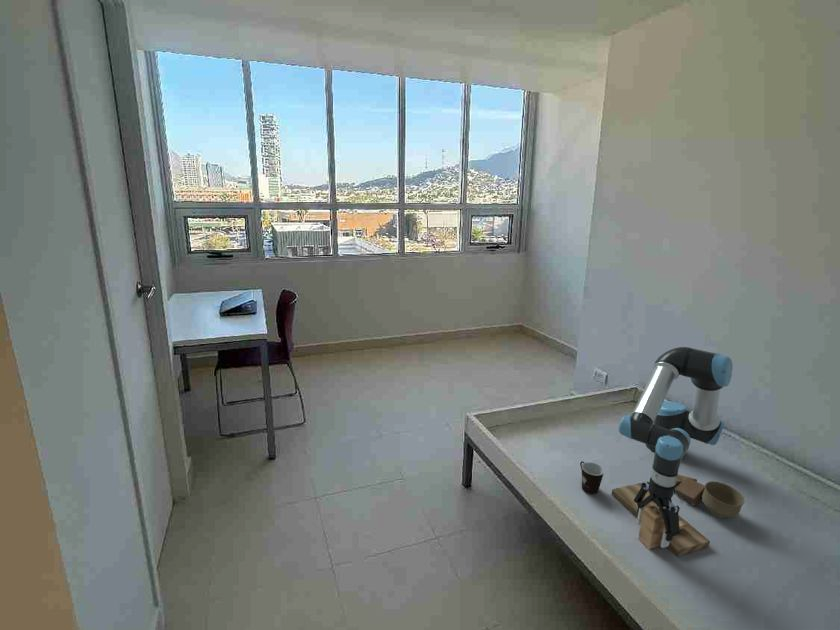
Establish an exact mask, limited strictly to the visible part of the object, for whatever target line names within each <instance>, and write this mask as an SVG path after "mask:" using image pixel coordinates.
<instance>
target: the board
mask: <svg viewBox="0 0 840 630" xmlns="http://www.w3.org/2000/svg"><path fill="white" fill-rule="evenodd" d="M641 484H642V482H638V483H633V484H629V485H625V486H620V487H616V488H612V489H611V496H612V497H613V498H615V499H616V500H617V501H618V502H619V504H621V505H622V506H623V507H624V508H625V509H626V510H627V511H628V512H629V513H631V514H632V515H633V516H634V517H635V518H636V519H637V517H638V514H637V510H638V506H637V503H635V502H634V499H635V497H636V495H637V494H638V492H639V490H640V489H641ZM649 495H650V493H649V490H648V492H647V493H646V495H645V496H644V498H643V500H644V499H645V498H646V497H648V496H649ZM643 500H642V501H643ZM654 505H656V504H655V503H654V502H650V503H649V504H647V506H644V507H646V508H647V507H651V506H654ZM663 508H666V507H663ZM682 517H683V516H682ZM682 517H681V516H680V515H679V521H682V520H683V521H684V522H685V523H686V524H687V527H686V528H684V529H680V535H676V536H673V537H672V540H671V541H670V542H669V546H667V547H666V548H668V549H669V551H671V552H672V553H673V554H674V555H675V556H676V557H679V556H683V555H686V554H689V553H693V552H696V551H699V550H700V551H701V550H703V549H706V548H709V546H710V543H711V540H709V538H707V537H706V536H705V535H703V534H702V533H701V532H700V531H699V530H697V529H696V528H695V527H694V526H693V525H691V524H690V523H689V522H688V521H687V520H685V519H684V518H682Z"/></svg>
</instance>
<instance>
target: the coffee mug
mask: <svg viewBox="0 0 840 630" xmlns="http://www.w3.org/2000/svg"><path fill="white" fill-rule="evenodd" d="M579 466H580V469H581V489H582V491H583V492H584V493H586V494H588V495H596V494H598V493H599V490H600V486H601V484H602V480H603V477H604V475H605V469H604V468H603V467H602V466H601V465H600V464H598V463H596V462H591V461H590V462H588V461H587V462H584V460H583V461H580V465H579Z"/></svg>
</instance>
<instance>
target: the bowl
mask: <svg viewBox="0 0 840 630" xmlns="http://www.w3.org/2000/svg"><path fill="white" fill-rule="evenodd" d="M704 486H705V489H704V492H703V495H702V501H703V503H704V506H705V507H706V508H707V509H708V510H709V512H710V513H712V514H713V515H714V516H717V517H718V518H719V517H720V518H732V517H733V518H734V517H736V516H738V515H739V514H740V512H741V508H742V507H743V505H744V504H745V497H744V496H743V495H742V493H740V491H739V490H737V489H736V488H734V487H732V486H730V485H728V484H726V483H724V482H720V481H714V480H713V481H711V480H710V481H707V482H706V483H705V484H704Z"/></svg>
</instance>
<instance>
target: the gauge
mask: <svg viewBox="0 0 840 630" xmlns="http://www.w3.org/2000/svg"><path fill="white" fill-rule="evenodd" d="M686 527H687V524H686V523H685V522H684V521H683V520H682V521H679V528H680V529H684V528H686ZM665 530H666V528H665V524H664V520H663V516H662V512H661V511H660V509H659V507H658V506H657V505H654V506H651V507H647V508H644V510H643V516H642V521H641V524H640V526H639V532H638V537H637V538H638V540H639V541H640V542H641V543H642V544H643V545H644V546H645V547H646V548H647V549H649V550H651V549H653V548H654V549H655V548H657V547H661V542H662V537H663V532H664V531H665Z"/></svg>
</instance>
